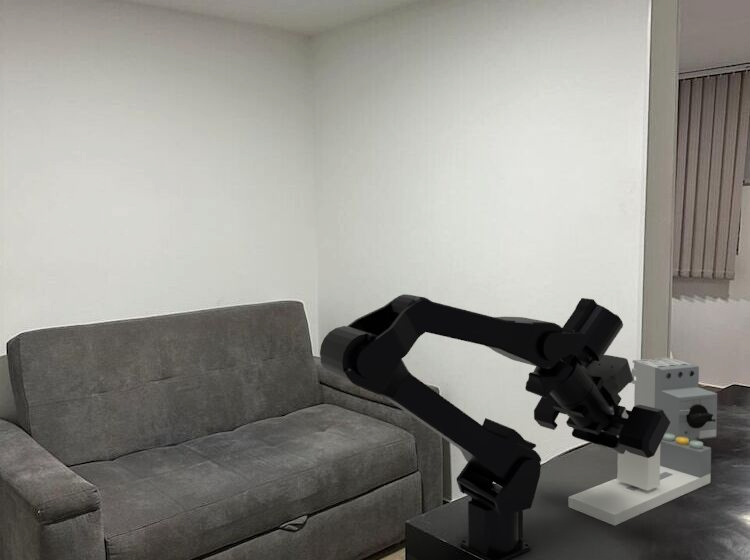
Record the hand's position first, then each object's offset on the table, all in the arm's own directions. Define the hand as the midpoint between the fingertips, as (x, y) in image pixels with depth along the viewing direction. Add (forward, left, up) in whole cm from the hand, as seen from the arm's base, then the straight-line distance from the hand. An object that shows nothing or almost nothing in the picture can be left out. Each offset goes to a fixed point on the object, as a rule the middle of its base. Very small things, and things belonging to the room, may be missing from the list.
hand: (622, 450), depth 99 cm
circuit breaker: (+26, +8, -8) cm, 28 cm away
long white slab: (+5, 0, -8) cm, 9 cm away
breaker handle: (+4, 0, -6) cm, 7 cm away
